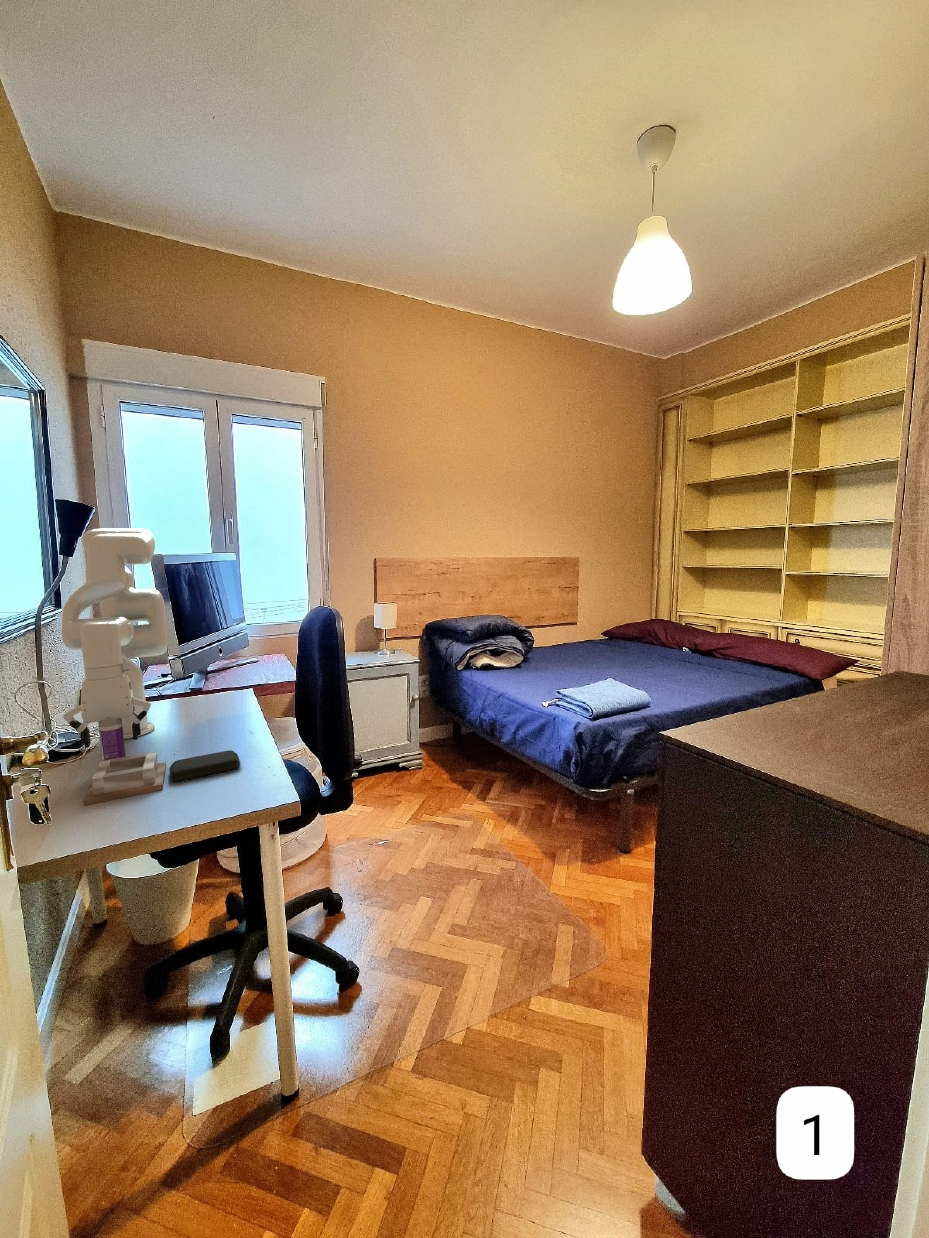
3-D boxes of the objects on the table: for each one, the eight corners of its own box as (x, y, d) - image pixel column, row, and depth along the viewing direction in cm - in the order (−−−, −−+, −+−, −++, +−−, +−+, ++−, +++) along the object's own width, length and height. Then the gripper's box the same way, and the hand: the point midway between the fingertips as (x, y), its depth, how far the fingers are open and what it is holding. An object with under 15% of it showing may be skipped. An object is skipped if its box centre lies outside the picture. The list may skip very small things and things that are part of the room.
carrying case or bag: (236, 756, 128) (170, 770, 121) (235, 745, 128) (169, 758, 121) (241, 771, 119) (169, 787, 112) (240, 759, 119) (168, 773, 111)
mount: (95, 779, 116) (93, 760, 115) (166, 766, 122) (164, 748, 122) (83, 805, 103) (81, 783, 103) (162, 789, 110) (160, 768, 109)
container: (131, 764, 124) (125, 705, 122) (113, 772, 119) (106, 711, 118) (116, 763, 125) (110, 704, 123) (98, 770, 121) (91, 710, 119)
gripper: (148, 665, 127) (155, 731, 129) (62, 674, 119) (71, 744, 121) (145, 671, 120) (152, 740, 122) (54, 680, 112) (63, 754, 114)
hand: (112, 742), depth 121 cm, fingers open, 9 cm apart
